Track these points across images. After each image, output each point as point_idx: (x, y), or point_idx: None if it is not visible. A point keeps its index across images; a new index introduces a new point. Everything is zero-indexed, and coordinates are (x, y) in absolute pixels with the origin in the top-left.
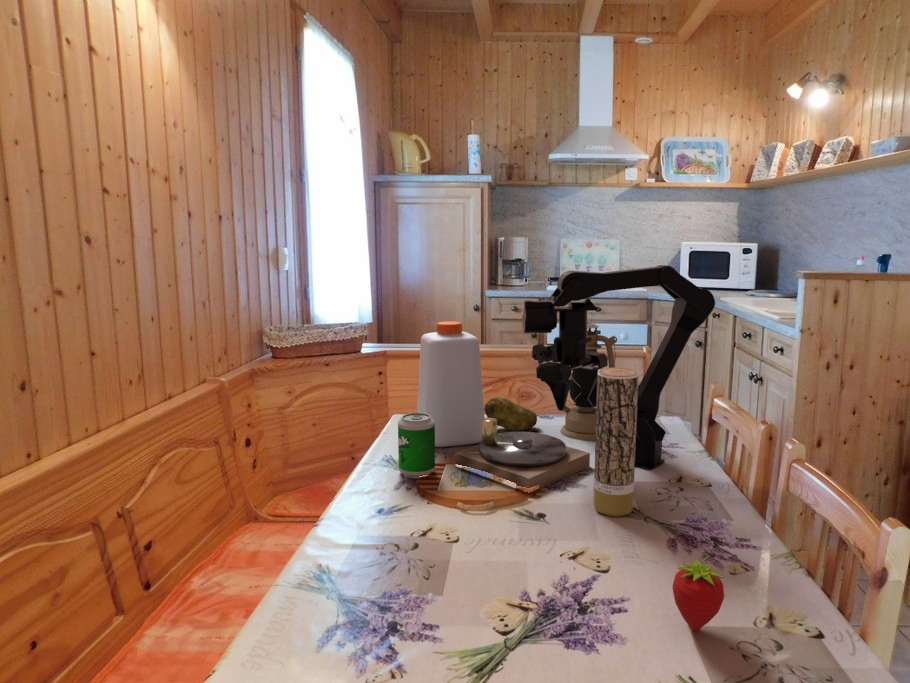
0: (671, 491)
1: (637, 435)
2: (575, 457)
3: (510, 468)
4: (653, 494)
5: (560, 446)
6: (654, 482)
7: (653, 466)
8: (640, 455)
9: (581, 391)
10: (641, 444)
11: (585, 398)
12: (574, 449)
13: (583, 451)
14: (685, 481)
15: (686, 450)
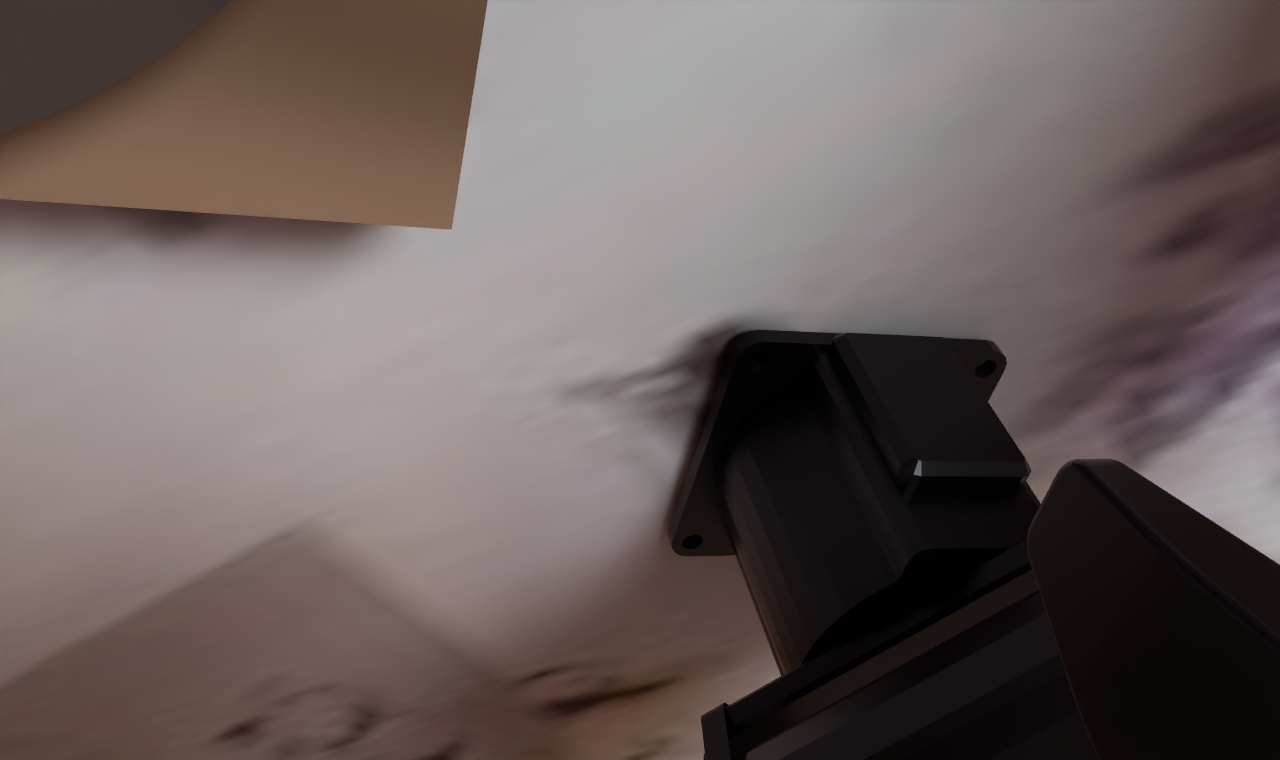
0: (342, 753)
1: (802, 683)
2: (137, 179)
3: None
4: (193, 723)
5: (37, 7)
6: (431, 642)
7: (717, 554)
8: (740, 539)
9: (1232, 626)
10: (773, 633)
11: (1061, 584)
12: (449, 6)
13: (449, 145)
14: (585, 728)
15: (1238, 515)
